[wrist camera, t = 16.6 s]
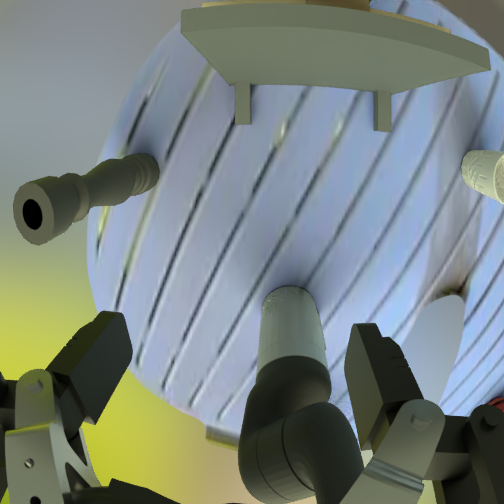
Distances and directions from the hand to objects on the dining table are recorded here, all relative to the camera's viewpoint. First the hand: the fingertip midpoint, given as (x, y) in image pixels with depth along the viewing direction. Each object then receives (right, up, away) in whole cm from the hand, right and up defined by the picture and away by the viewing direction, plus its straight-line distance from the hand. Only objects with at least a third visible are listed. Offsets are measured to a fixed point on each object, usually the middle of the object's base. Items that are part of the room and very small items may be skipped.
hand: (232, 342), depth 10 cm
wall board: (+9, +26, +28) cm, 39 cm away
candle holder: (-17, +16, +34) cm, 41 cm away
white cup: (+38, +17, +29) cm, 51 cm away
